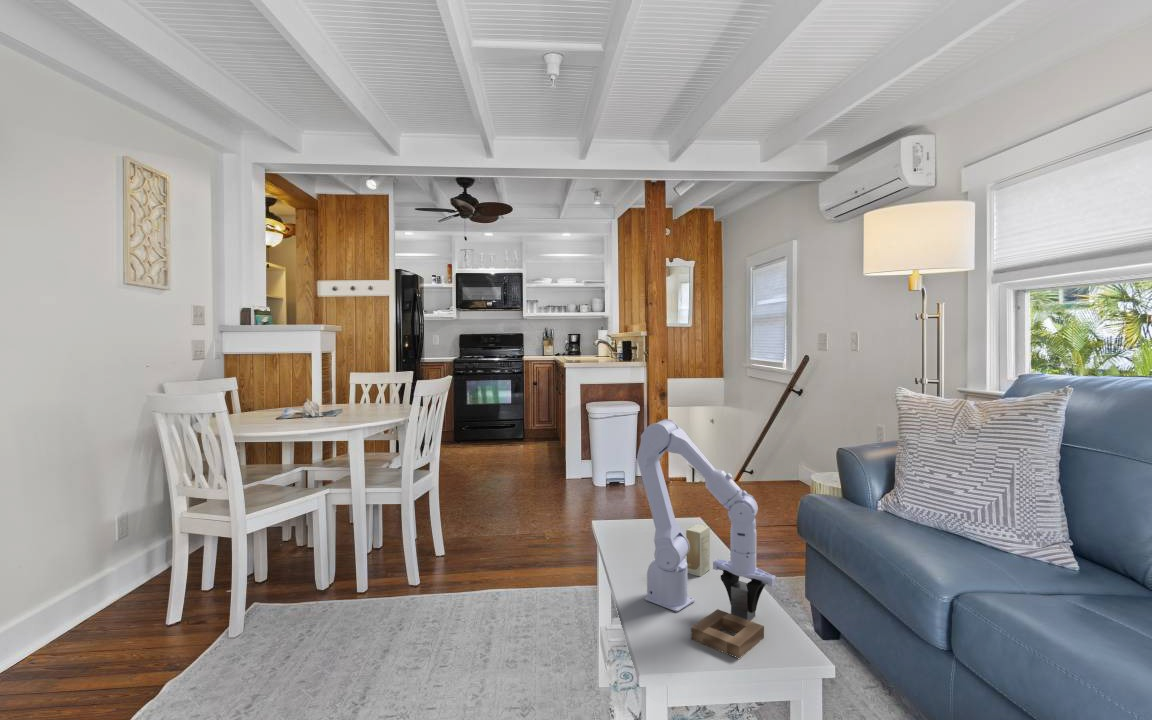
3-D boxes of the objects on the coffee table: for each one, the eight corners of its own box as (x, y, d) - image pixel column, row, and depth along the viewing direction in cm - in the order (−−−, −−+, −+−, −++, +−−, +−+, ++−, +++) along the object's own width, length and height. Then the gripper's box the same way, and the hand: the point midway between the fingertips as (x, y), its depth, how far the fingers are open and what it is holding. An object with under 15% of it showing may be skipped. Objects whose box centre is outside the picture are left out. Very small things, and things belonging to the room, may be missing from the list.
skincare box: (696, 566, 155) (696, 523, 155) (710, 569, 152) (710, 526, 152) (685, 573, 150) (685, 529, 150) (700, 577, 147) (699, 532, 147)
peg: (731, 616, 126) (731, 586, 125) (739, 610, 128) (739, 580, 128) (747, 622, 123) (747, 591, 123) (755, 615, 126) (755, 585, 125)
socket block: (691, 638, 116) (691, 627, 116) (717, 620, 124) (717, 609, 124) (739, 659, 108) (739, 646, 108) (763, 637, 116) (764, 626, 116)
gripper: (781, 552, 123) (781, 612, 123) (723, 537, 133) (723, 592, 133) (767, 561, 118) (767, 623, 118) (708, 544, 128) (708, 602, 128)
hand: (743, 607), depth 126 cm, fingers closed on peg, 4 cm apart
